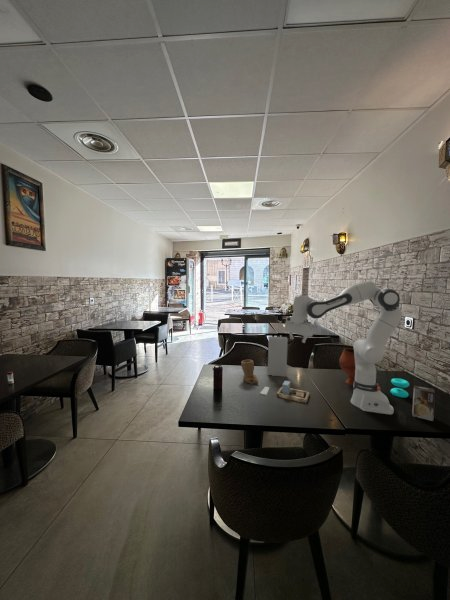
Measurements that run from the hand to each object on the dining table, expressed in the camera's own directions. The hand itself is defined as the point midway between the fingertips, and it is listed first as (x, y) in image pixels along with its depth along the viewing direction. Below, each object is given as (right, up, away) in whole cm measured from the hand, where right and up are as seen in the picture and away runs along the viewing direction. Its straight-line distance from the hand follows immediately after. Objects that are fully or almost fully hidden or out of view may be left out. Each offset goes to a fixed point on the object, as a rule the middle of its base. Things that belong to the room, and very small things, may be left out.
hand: (297, 340), depth 163 cm
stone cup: (-29, -34, +25) cm, 51 cm away
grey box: (-6, -33, +38) cm, 51 cm away
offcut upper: (0, -35, -4) cm, 35 cm away
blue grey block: (-8, -36, 0) cm, 37 cm away
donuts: (+70, -37, +6) cm, 79 cm away
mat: (-17, -35, +6) cm, 40 cm away
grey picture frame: (+64, -39, -21) cm, 78 cm away
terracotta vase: (+47, -36, +24) cm, 64 cm away
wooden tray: (-4, -36, -2) cm, 36 cm away
